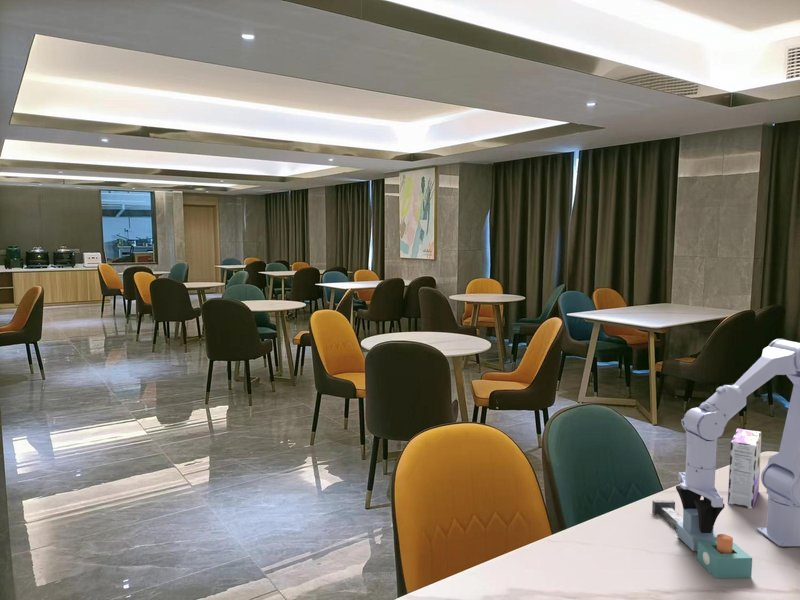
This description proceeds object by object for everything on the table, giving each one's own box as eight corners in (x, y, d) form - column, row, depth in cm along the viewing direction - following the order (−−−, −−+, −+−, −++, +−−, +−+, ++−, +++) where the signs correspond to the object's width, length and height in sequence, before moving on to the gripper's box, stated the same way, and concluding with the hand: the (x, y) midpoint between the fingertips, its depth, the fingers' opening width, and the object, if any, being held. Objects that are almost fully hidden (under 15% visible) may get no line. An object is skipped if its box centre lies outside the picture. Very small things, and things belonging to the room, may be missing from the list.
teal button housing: (730, 559, 124) (731, 540, 124) (751, 577, 118) (752, 557, 117) (696, 559, 124) (697, 541, 124) (715, 578, 117) (716, 558, 117)
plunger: (726, 552, 122) (727, 533, 122) (735, 560, 119) (735, 540, 119) (713, 553, 122) (714, 534, 122) (721, 560, 119) (722, 540, 119)
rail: (672, 511, 147) (672, 500, 147) (721, 555, 126) (722, 541, 126) (652, 512, 147) (652, 500, 147) (698, 556, 126) (698, 542, 126)
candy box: (734, 486, 163) (737, 427, 162) (759, 491, 160) (762, 431, 158) (726, 504, 152) (729, 440, 150) (753, 510, 148) (756, 444, 147)
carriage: (702, 535, 134) (703, 504, 134) (719, 550, 127) (721, 518, 127) (675, 535, 134) (677, 505, 134) (692, 551, 127) (693, 519, 127)
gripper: (666, 453, 136) (664, 511, 138) (700, 477, 122) (697, 542, 123) (696, 453, 137) (694, 511, 138) (734, 477, 122) (731, 541, 123)
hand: (698, 525), depth 130 cm, fingers open, 6 cm apart
